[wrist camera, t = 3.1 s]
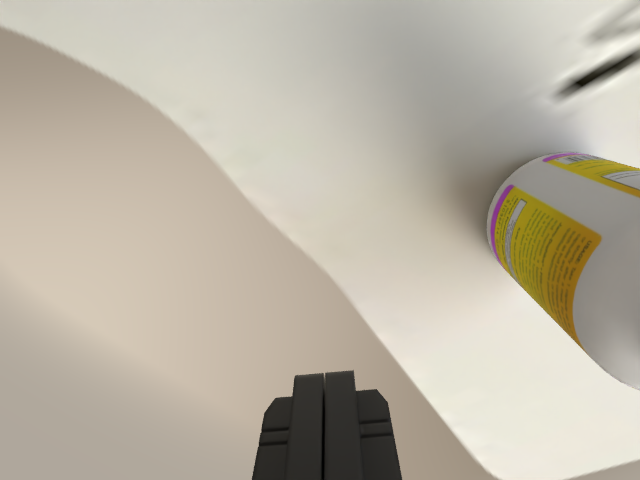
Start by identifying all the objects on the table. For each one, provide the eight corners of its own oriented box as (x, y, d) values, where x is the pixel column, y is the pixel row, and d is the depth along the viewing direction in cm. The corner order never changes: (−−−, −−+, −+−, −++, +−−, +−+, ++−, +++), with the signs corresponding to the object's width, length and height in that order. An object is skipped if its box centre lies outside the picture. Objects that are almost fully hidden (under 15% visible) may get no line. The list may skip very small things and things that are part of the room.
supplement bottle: (521, 300, 24) (715, 520, 12) (457, 202, 23) (608, 344, 11) (641, 230, 23) (993, 398, 11) (583, 120, 21) (923, 173, 9)
